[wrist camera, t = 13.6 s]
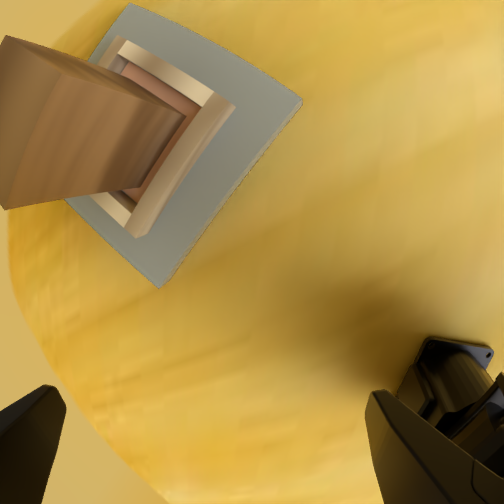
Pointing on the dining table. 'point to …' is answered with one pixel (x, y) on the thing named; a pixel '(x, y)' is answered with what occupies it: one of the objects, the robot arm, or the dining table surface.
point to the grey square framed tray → (183, 138)
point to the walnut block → (73, 127)
